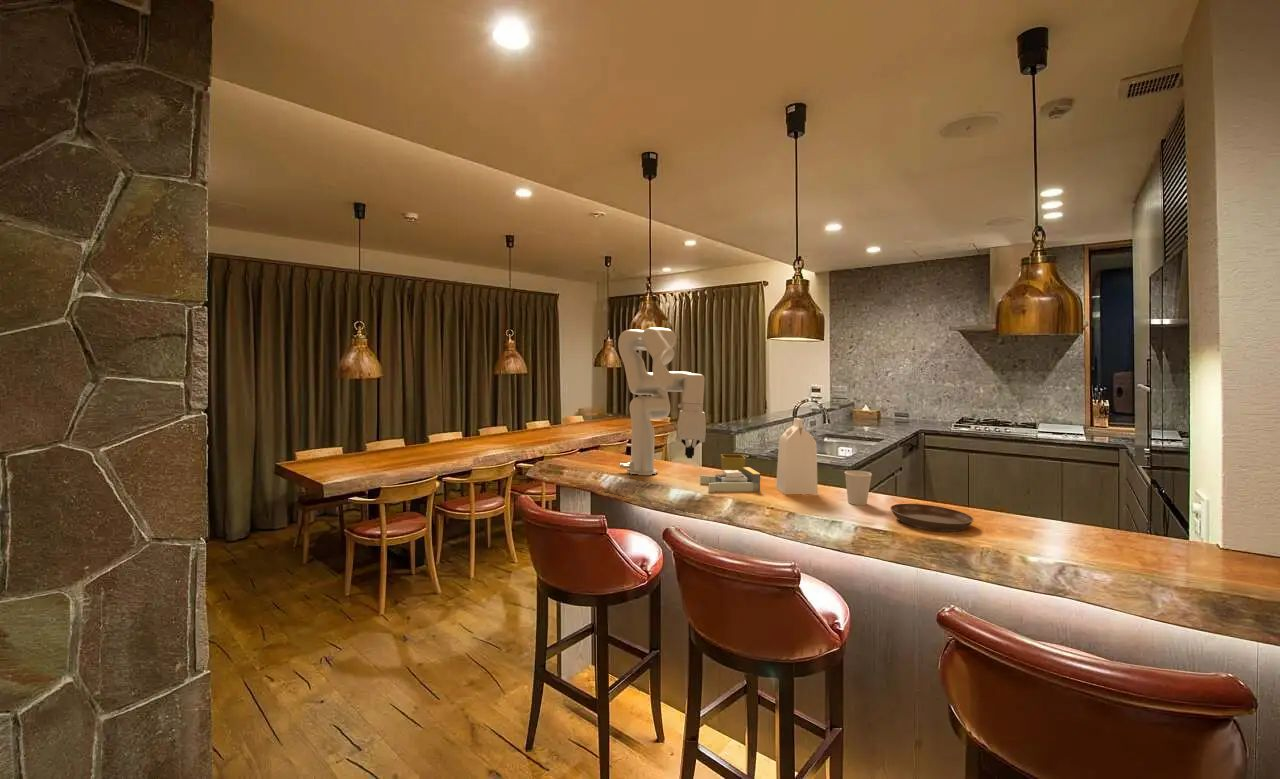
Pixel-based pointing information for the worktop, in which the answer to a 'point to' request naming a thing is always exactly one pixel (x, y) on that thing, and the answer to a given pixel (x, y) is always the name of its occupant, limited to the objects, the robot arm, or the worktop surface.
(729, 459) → the flower pot
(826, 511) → the worktop surface
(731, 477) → the trolley
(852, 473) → the dixie cup
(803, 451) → the milk
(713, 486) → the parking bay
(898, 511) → the plant saucer
